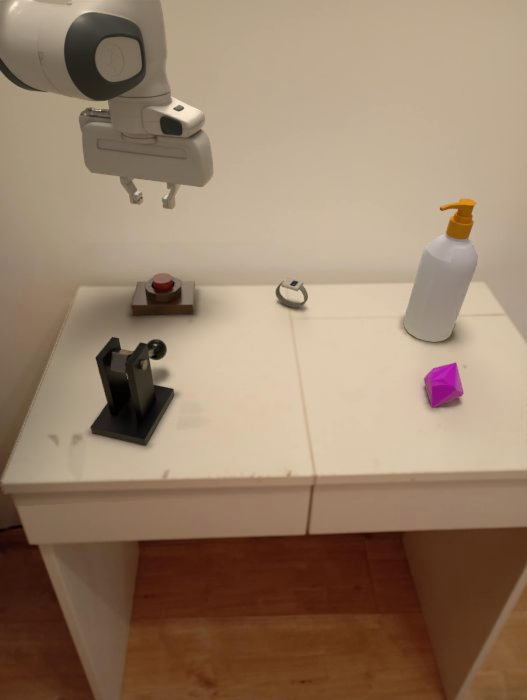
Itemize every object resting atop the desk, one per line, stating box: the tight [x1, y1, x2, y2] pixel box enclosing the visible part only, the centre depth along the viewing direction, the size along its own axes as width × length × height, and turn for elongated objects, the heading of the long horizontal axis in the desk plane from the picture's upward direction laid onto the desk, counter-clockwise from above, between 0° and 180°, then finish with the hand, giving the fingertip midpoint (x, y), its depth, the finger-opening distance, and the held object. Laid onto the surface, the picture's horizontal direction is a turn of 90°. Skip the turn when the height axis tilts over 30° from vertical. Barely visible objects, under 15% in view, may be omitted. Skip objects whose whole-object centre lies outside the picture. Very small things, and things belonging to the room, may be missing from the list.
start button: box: [151, 272, 173, 291], centre depth 86 cm, size 4×4×2 cm
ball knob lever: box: [110, 338, 168, 373], centre depth 66 cm, size 13×3×3 cm
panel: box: [130, 275, 197, 316], centre depth 88 cm, size 11×8×4 cm
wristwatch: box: [275, 277, 309, 309], centre depth 88 cm, size 6×3×5 cm, turn 64°
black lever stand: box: [90, 336, 175, 446], centre depth 64 cm, size 10×8×12 cm
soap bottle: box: [403, 198, 479, 343], centre depth 78 cm, size 9×9×24 cm
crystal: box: [423, 362, 465, 409], centre depth 71 cm, size 5×5×5 cm
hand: (153, 205), depth 77 cm, fingers open, 4 cm apart
